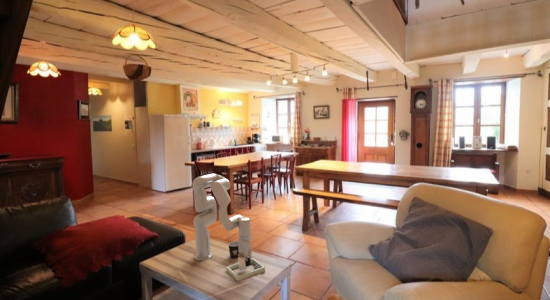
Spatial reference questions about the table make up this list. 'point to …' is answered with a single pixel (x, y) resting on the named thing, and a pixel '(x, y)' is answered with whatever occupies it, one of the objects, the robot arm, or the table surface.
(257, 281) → the table surface
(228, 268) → the tray frame
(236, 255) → the coffee mug
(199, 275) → the table surface
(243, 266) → the cylinder
